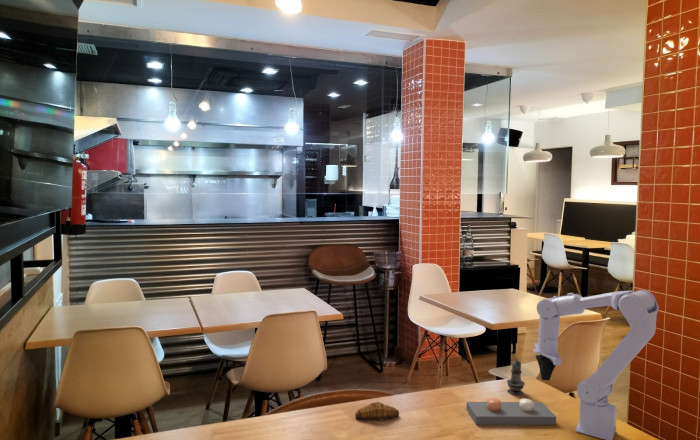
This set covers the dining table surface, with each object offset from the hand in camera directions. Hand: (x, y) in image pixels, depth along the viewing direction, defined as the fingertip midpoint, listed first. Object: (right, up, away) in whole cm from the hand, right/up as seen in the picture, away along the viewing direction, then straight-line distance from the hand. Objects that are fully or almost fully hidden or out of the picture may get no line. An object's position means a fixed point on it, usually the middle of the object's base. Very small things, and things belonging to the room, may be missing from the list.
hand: (545, 379), depth 152 cm
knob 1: (-17, -9, -4) cm, 20 cm away
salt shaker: (-4, -10, +15) cm, 19 cm away
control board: (-12, -10, -3) cm, 16 cm away
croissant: (-53, -10, -6) cm, 54 cm away
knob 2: (-7, -10, -3) cm, 12 cm away
